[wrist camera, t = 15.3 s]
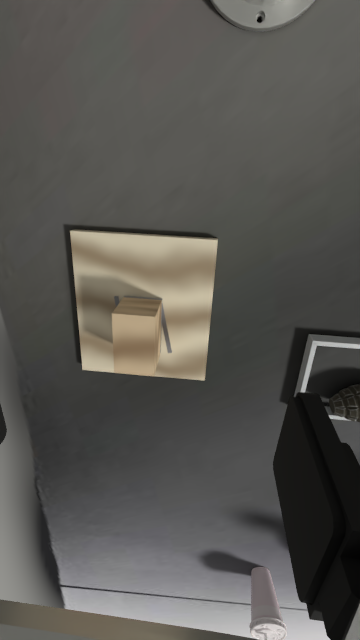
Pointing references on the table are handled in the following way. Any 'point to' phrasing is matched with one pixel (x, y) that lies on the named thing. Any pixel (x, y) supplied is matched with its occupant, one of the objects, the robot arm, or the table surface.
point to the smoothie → (265, 607)
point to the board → (145, 294)
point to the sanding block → (137, 335)
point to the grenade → (347, 403)
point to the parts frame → (309, 355)
